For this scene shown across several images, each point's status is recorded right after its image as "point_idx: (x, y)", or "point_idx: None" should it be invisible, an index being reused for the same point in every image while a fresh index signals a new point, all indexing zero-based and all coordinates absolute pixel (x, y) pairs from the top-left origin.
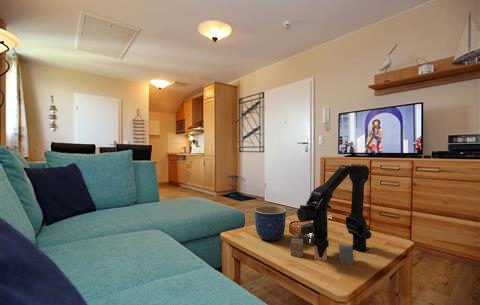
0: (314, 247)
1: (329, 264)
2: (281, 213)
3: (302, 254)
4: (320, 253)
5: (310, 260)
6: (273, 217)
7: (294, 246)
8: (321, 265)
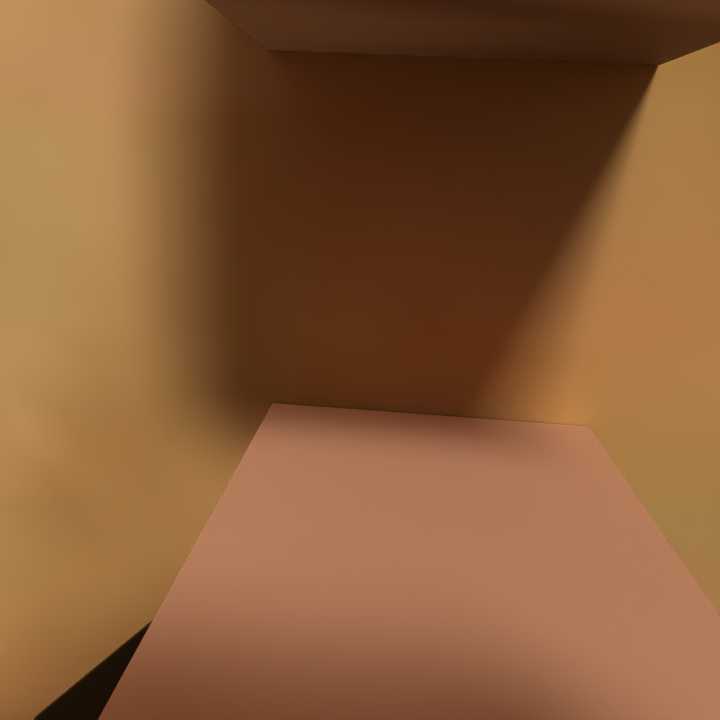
0: (126, 675)
1: None
2: None
3: (319, 37)
4: None
5: (156, 301)
6: None
7: None
8: (18, 525)
